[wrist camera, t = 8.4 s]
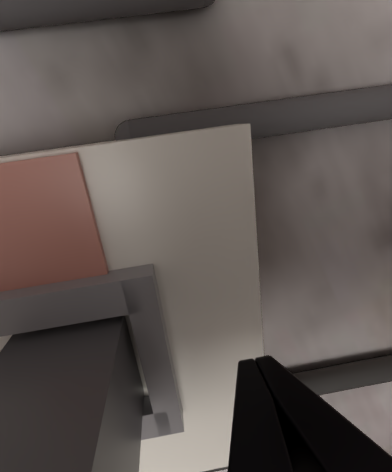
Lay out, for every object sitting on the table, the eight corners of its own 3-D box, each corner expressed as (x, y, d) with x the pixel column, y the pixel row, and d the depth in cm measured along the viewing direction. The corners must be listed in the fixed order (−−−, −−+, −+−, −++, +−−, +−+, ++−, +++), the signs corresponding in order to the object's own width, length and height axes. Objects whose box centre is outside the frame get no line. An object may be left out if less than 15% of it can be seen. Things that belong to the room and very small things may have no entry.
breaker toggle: (124, 312, 8) (78, 537, 4) (144, 391, 9) (127, 641, 5) (15, 331, 8) (-171, 589, 4) (48, 409, 9) (-64, 686, 5)
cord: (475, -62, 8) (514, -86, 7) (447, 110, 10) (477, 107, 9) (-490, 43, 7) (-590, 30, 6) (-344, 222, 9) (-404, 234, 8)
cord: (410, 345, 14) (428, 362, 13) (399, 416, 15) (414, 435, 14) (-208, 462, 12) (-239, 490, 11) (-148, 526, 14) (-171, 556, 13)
